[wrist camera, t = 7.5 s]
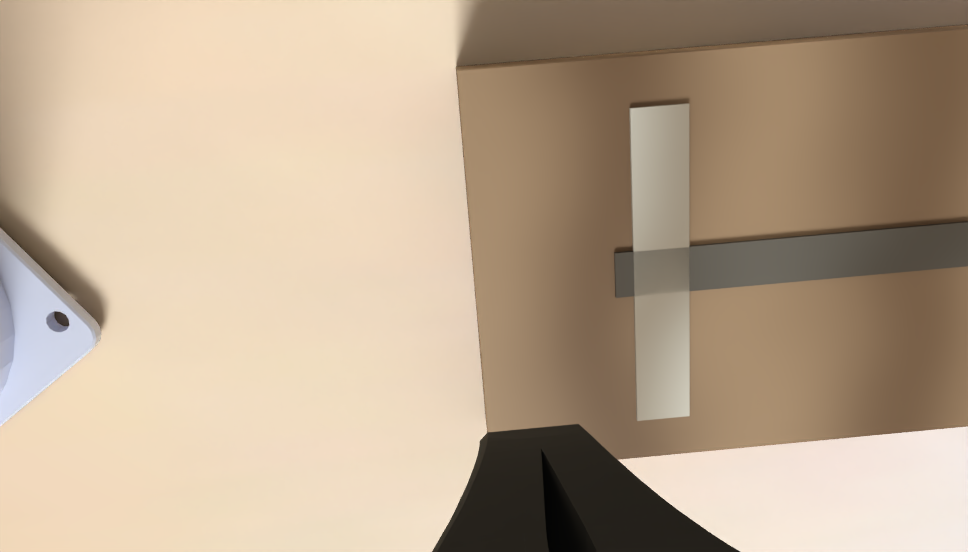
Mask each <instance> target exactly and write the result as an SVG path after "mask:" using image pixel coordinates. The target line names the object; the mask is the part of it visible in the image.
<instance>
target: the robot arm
mask: <svg viewBox="0 0 968 552" xmlns="http://www.w3.org/2000/svg"><path fill="white" fill-rule="evenodd" d="M55 311H58V312H62V313H63V314H65V315H66V316H67V318H68V319H69V326H62V325H61V324H59V323H57V321H56V319H55V318H54V312H55ZM100 338H101V330H100V326H99V325H98V323H97V322H96V320H95V319H94V318H93V317H92V316H91V315H90V314H89V313H88V312H87V311H86V310H85V309H84V308H83V307H82V306H80V305H79V304H78V303H77V302H76V301H75V300H74V299H73V298H72V297H71V296H70V295H69V294H68V293H67V292H66V291H65V290H64V289H63V288H62V287H61V286H60V285H59V284H58V283H57V282H56V281H55V280H54V279H53V278H52V277H51V276H50V275H49V274H48V273H46V272H45V271H44V270H43V269H42V268H41V267H40V266H39V265H38V264H37V263H36V262H35V261H34V260H33V259H32V258H31V257H30V256H29V255H28V254H27V253H26V252H25V251H24V250H23V249H22V248H21V247H20V246H19V245H18V244H17V243H16V242H15V241H14V240H12V239H11V238H10V237H9V236H8V235H7V234H6V233H5V232H4V231H3V230H2V229H1V228H0V426H1V425H2V424H4V423H5V422H6V421H7V420H8V419H10V418H11V417H12V416H13V415H14V414H16V413H17V412H18V411H19V410H20V409H22V408H23V407H24V406H25V405H26V404H28V403H29V402H30V401H31V400H32V399H34V398H35V397H36V396H37V395H38V394H40V393H41V392H42V391H43V390H44V389H46V388H47V387H48V386H49V385H50V384H52V383H53V382H54V381H55V380H56V379H58V378H59V377H60V376H61V375H62V374H64V373H65V372H66V371H67V370H68V369H70V368H71V367H72V366H73V365H74V364H76V363H77V362H78V361H79V360H80V359H82V358H83V357H84V356H85V355H86V354H88V353H89V352H90V351H91V350H92V349H93V348H94V347H96V345H97V344H98V343H99V341H100ZM432 552H740V551H738V550H736V549H735V548H733V547H731V546H730V545H728V544H726V543H725V542H723V541H722V540H720V539H719V538H717V537H716V536H714V535H713V534H711V533H710V532H708V531H707V530H705V529H704V528H702V527H701V526H700V525H698V524H697V523H695V522H694V521H693V520H691V519H690V518H688V517H687V516H686V515H684V514H683V513H681V512H680V511H678V510H677V509H676V508H674V507H673V506H672V505H670V504H669V503H668V502H667V501H665V500H664V499H663V498H661V497H660V496H659V495H658V494H657V493H655V492H654V491H653V490H652V489H651V488H649V487H648V486H647V485H646V484H644V483H643V482H642V481H641V480H640V479H638V478H637V477H636V476H635V475H634V474H633V473H632V472H630V471H629V470H628V469H627V468H626V467H625V466H624V465H623V464H622V463H620V462H619V461H618V460H617V459H616V458H615V457H614V456H613V455H612V454H611V453H610V452H609V451H607V450H606V449H605V448H604V447H603V446H602V445H601V444H600V443H599V442H598V441H597V440H596V439H595V438H594V437H593V436H592V435H591V434H589V433H588V432H587V431H586V430H585V429H584V428H583V427H582V426H580V425H579V424H572V425H561V426H550V427H540V428H529V429H518V430H508V431H497V432H488V433H487V434H486V435H485V436H484V437H483V438H482V439H481V440H480V447H479V452H478V456H477V459H476V463H475V466H474V469H473V471H472V474H471V476H470V479H469V482H468V484H467V486H466V488H465V491H464V493H463V495H462V497H461V499H460V501H459V503H458V506H457V508H456V510H455V512H454V514H453V516H452V518H451V520H450V522H449V524H448V525H447V527H446V529H445V530H444V532H443V534H442V536H441V537H440V539H439V541H438V543H437V544H436V546H435V548H434V549H433V551H432Z"/></svg>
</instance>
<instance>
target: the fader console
mask: <svg viewBox="0 0 968 552" xmlns="http://www.w3.org/2000/svg"><path fill="white" fill-rule="evenodd" d="M456 75H457V86H458V98H459V110H460V122H461V133H462V145H463V157H464V168H465V180H466V192H467V203H468V215H469V227H470V239H471V250H472V262H473V274H474V285H475V297H476V309H477V321H478V332H479V344H480V356H481V367H482V379H483V391H484V403H485V414H486V425H487V433H488V432H497V431H508V430H518V429H529V428H540V427H550V426H561V425H572V424H579V425H580V426H582V427H583V428H584V429H585V430H586V431H587V432H588V433H589V434H591V435H592V436H593V437H594V438H595V439H596V440H597V441H598V442H599V443H600V444H601V445H602V446H603V447H604V448H605V449H606V450H607V451H609V452H610V453H611V454H612V455H613V456H614V457H615V458H616V459H617V460H618V459H628V458H639V457H649V456H660V455H670V454H681V453H691V452H702V451H712V450H723V449H733V448H744V447H754V446H765V445H776V444H786V443H797V442H807V441H818V440H828V439H839V438H849V437H860V436H870V435H881V434H891V433H902V432H913V431H923V430H934V429H944V428H955V427H965V426H968V25H956V26H944V27H932V28H920V29H907V30H895V31H883V32H871V33H859V34H847V35H834V36H822V37H810V38H798V39H786V40H774V41H762V42H749V43H737V44H725V45H713V46H701V47H689V48H676V49H664V50H652V51H640V52H628V53H616V54H604V55H591V56H579V57H567V58H555V59H543V60H531V61H519V62H506V63H494V64H482V65H470V66H458V67H456Z"/></svg>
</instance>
